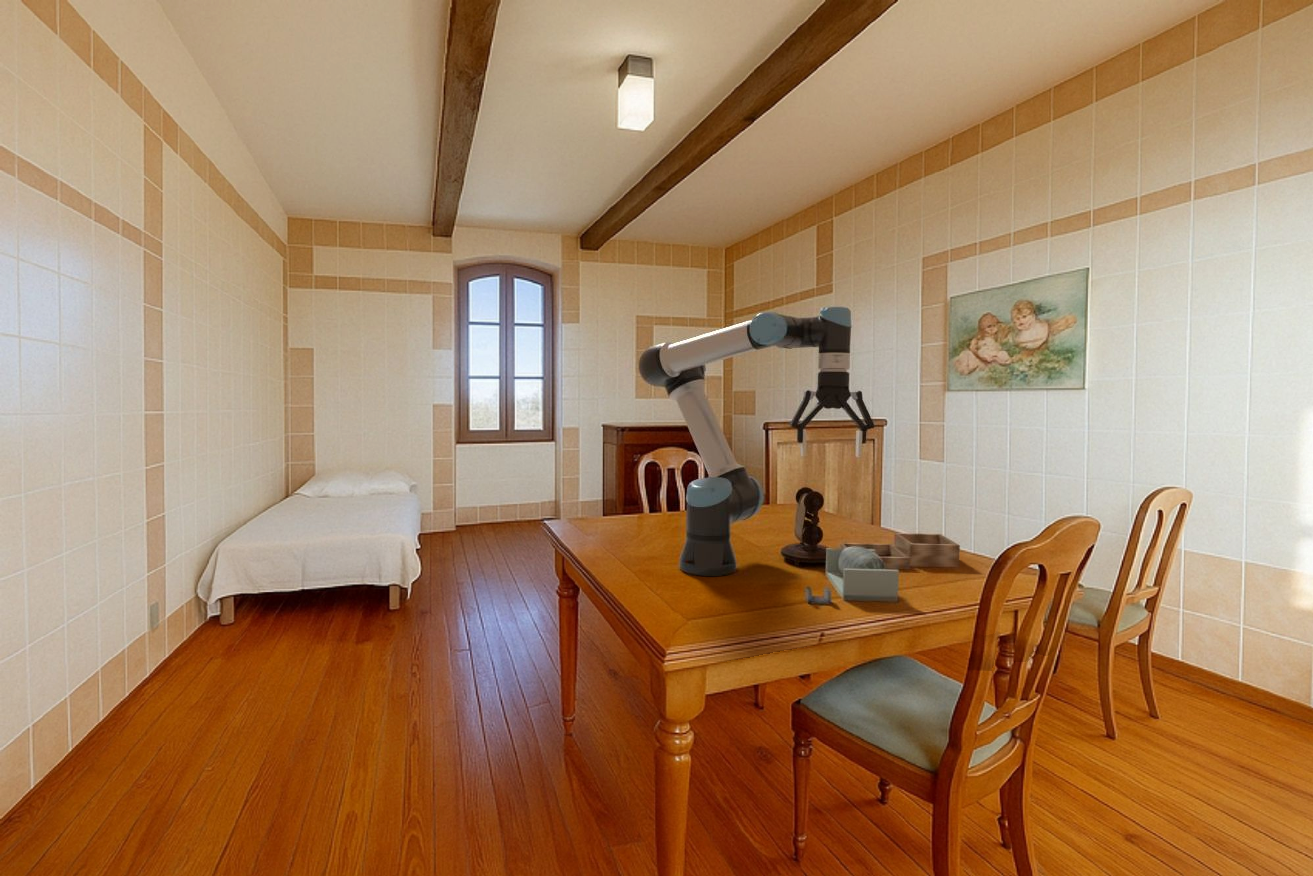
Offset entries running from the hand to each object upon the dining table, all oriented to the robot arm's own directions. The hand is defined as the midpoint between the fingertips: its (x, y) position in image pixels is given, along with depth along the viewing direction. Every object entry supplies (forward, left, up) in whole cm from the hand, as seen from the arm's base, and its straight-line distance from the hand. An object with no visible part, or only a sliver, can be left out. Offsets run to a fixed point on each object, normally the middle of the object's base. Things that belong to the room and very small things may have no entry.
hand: (830, 456), depth 157 cm
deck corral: (+16, +16, -31) cm, 38 cm away
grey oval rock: (+6, -8, -30) cm, 31 cm away
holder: (+6, -8, -31) cm, 32 cm away
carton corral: (+31, +18, -31) cm, 47 cm away
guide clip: (-6, -19, -31) cm, 37 cm away
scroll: (-2, +15, -31) cm, 34 cm away
